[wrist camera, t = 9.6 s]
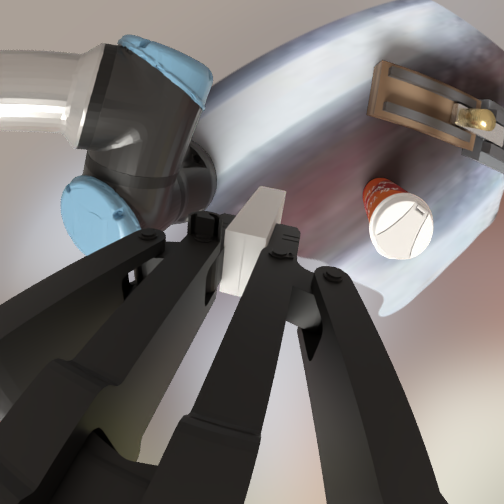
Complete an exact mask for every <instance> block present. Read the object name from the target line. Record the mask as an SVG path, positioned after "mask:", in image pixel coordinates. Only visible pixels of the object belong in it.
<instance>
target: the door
mask: <svg viewBox="0 0 504 504" xmlns="http://www.w3.org/2000/svg"><path fill="white" fill-rule="evenodd" d="M456 103H459V104H461V105H463V106H465V107H467V108H471V109H480V108H481V101H480V100H478V99H476V98H474V97H472V96H471V95H469V94H467V93H465V92H462V91H460V90H458V89H456V88H454V87H452V86H450V85H448V84H445V83H443V82H441V81H438V80H436V79H434V78H431V77H429V76H426V75H424V74H421V73H419V72H416V71H413V70H410V69H408V68H405V67H402V66H399V65H396V64H393V63H390V62H387V61H383V60H382V61H381V62H380V63H379V64H377V65H376V66H375V67H374V72H373V79H372V85H371V91H370V98H369V103H368V109H367V115H369V116H372V117H376V118H379V119H382V120H386V121H389V122H392V123H395V124H398V125H401V126H404V127H407V128H410V129H413V130H416V131H419V132H422V133H424V134H427V135H430V136H432V137H435V138H437V139H440V140H442V141H445V142H447V143H450V144H452V145H454V146H457V147H460V148H464V149H467V150H470V151H473V147H474V142H475V137H476V135H474V134H472V133H470V132H468V131H466V130H464V129H462V128H460V127H457V126H455V125H453V124H451V123H450V120H451V114H452V108H453V104H456Z"/></svg>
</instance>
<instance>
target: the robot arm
mask: <svg viewBox="0 0 504 504" xmlns="http://www.w3.org/2000/svg"><path fill="white" fill-rule="evenodd" d="M212 83H213V76H212V73H211V71H210V70H209V68H207V67H206V66H205V65H204V64H202V63H200V62H199V61H197V60H195V59H193V58H191V57H190V56H187V55H185V54H183V53H181V52H179V51H177V50H175V49H172V48H170V47H168V46H165V45H162V44H160V43H157V42H154V41H150V40H147V39H143V38H141V37H139V36H135V35H124V36H123V37H122V38H121V39H120V40H119V41H118V45H111V44H105V43H101V44H100V45H98V46H96V47H95V48H93V49H91V50H89V51H88V52H86V53H83V54H76V53H66V52H54V51H36V50H35V51H34V50H0V131H29V132H53V133H61V134H62V135H64V136H65V137H66V139H67V140H68V142H69V143H70V145H71V146H72V147H73V148H75V149H86V150H87V155H86V160H85V165H84V170H83V174H82V175H81V176H78V177H75V178H74V179H73V180H72V181H71V183H70V184H68V185H67V186H66V187H65V189H64V191H63V194H62V197H61V215H62V219H63V223H64V225H65V228H66V230H67V232H68V234H69V236H70V237H71V239H72V240H73V242H74V244H75V245H76V246H77V248H78V249H79V250H80V251H81V252H82V253H83V254H84V255H86V257H84V258H82V259H80V260H78V261H76V262H74V263H72V264H70V265H69V266H67V267H65V268H63V269H62V270H60V271H58V272H56V273H54V274H52V275H51V276H49V277H47V278H46V279H43V280H42V281H40V282H38V283H37V284H35V285H33V286H31V287H30V288H28V289H26V290H25V291H23V292H21V293H19V294H18V295H16V296H14V297H13V298H11V299H10V300H8V301H6V302H5V303H3V304H1V305H0V421H1V422H0V504H244V501H245V498H246V494H247V491H248V487H249V484H250V480H251V476H252V473H253V469H254V465H255V461H256V458H257V454H258V450H259V445H260V440H261V430H262V426H263V422H264V418H265V414H266V409H267V405H268V401H269V396H270V392H271V387H272V383H273V379H274V374H275V370H276V365H277V361H278V356H279V351H280V347H281V342H282V337H283V332H284V327H285V322H286V321H288V322H290V323H292V324H294V325H296V326H298V329H297V333H298V338H299V343H300V349H301V354H302V359H303V364H304V370H305V375H306V380H307V386H308V391H309V397H310V402H311V408H312V413H313V420H314V425H315V431H316V437H317V443H318V449H319V455H320V462H321V468H322V474H323V481H324V488H325V494H326V501H327V504H448V503H447V501H446V500H445V499H444V497H443V496H442V494H441V493H440V491H439V488H438V484H437V481H436V478H435V475H434V471H433V468H432V465H431V462H430V459H429V456H428V453H427V451H426V447H425V445H424V442H423V439H422V436H421V434H420V431H419V428H418V426H417V423H416V420H415V418H414V415H413V412H412V410H411V407H410V405H409V403H408V400H407V397H406V395H405V393H404V390H403V388H402V385H401V383H400V381H399V379H398V376H397V374H396V371H395V369H394V367H393V364H392V362H391V360H390V358H389V356H388V354H387V351H386V349H385V347H384V345H383V342H382V340H381V338H380V336H379V334H378V332H377V330H376V328H375V326H374V324H373V321H372V319H371V317H370V315H369V314H368V311H367V309H366V307H365V305H364V303H363V301H362V299H361V297H360V295H359V293H358V291H357V289H356V287H355V286H354V284H353V282H352V280H351V278H350V277H349V276H348V274H347V273H345V272H344V271H342V270H341V269H339V268H338V269H337V268H336V267H330V266H322V267H319V268H317V269H316V270H315V272H314V273H313V272H310V271H308V270H306V269H304V268H303V267H302V266H300V265H299V263H298V262H297V252H298V246H299V240H300V231H299V230H298V228H296V227H292V226H287V225H282V224H280V223H281V217H282V212H283V206H284V201H285V196H286V191H283V190H278V189H273V188H268V187H263V186H260V187H259V188H258V189H257V190H256V192H255V193H254V194H253V195H252V197H251V198H250V199H249V200H248V202H247V203H246V204H245V205H244V207H243V208H242V209H241V210H240V212H239V213H238V214H237V216H235V215H230V214H225V213H224V214H221V215H219V214H217V213H213V212H208V211H204V210H205V209H206V208H207V207H208V206H209V205H210V203H211V201H212V199H213V197H214V194H215V190H216V172H215V168H214V165H213V163H212V161H211V159H210V157H209V156H208V154H207V153H206V151H205V150H204V149H203V148H202V147H201V146H199V145H198V144H197V143H195V142H193V141H192V140H191V138H192V136H193V133H194V131H195V128H196V126H197V123H198V121H199V118H200V116H201V113H202V111H204V110H205V102H206V99H207V97H208V94H209V91H210V89H211V86H212ZM185 222H188V232H187V233H188V234H187V236H186V237H185V238H184V239H183V240H182V241H181V242H166V240H165V239H166V235H165V233H164V232H163V231H165V230H166V229H167V228H168V227H169V226H170V225H173V224H180V223H185ZM132 270H134V275H135V280H134V281H133V282H129V278H128V273H129V272H130V271H132ZM219 283H220V292H223V293H228V294H231V295H235V296H239V297H241V299H240V301H239V303H238V306H237V308H236V310H235V312H234V315H233V317H232V320H231V322H230V324H229V326H228V329H227V331H226V333H225V335H224V338H223V340H222V342H221V345H220V347H219V349H218V352H217V354H216V356H215V358H214V361H213V363H212V366H211V367H210V370H209V372H208V374H207V377H206V379H205V381H204V383H203V386H202V388H201V390H200V393H199V395H198V397H197V399H196V402H195V404H194V406H193V408H192V410H191V412H190V413H189V414H188V415H184V416H183V417H182V419H181V420H180V421H179V423H178V425H177V427H176V429H175V431H174V433H173V435H172V437H171V439H170V441H169V444H168V446H167V448H166V450H165V452H164V454H163V456H162V458H161V461H160V463H159V465H158V466H156V465H150V464H145V463H139V462H136V461H137V459H138V456H139V452H140V445H141V439H142V436H143V434H144V432H145V430H146V428H147V426H148V424H149V422H150V420H151V419H152V417H153V415H154V413H155V411H156V409H157V407H158V405H159V403H160V402H161V400H162V398H163V396H164V394H165V392H166V390H167V388H168V386H169V385H170V383H171V381H172V379H173V377H174V375H175V373H176V371H177V369H178V368H179V366H180V364H181V362H182V360H183V358H184V356H185V354H186V353H187V351H188V349H189V347H190V345H191V343H192V341H193V339H194V338H195V335H196V334H197V332H198V330H199V328H200V326H201V324H202V323H203V321H204V319H205V317H206V315H207V313H208V312H209V310H210V308H211V306H212V304H213V302H214V300H215V298H216V291H217V286H218V284H219Z"/></svg>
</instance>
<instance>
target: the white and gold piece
mask: <svg viewBox="0 0 504 504" xmlns="http://www.w3.org/2000/svg"><path fill="white" fill-rule="evenodd" d="M450 123H451V124H453V125H455V126H457V127H460V128H462V129H464V130H466V131H468V132H470V133H472V134H474V135H476V136H478V137H480V138H482V139H484V140H486V141H488V142H490V143H492V144H494V145H496V146H499V147H502V146H503V141H504V127H502V126H501V125H499V124H497V123H496V119H495V116H494V114H493V113H492V112H491V111H490V110H488V109H471V108H467V107H465V106H463V105H461V104H459V103H456V104H453V108H452V114H451V120H450Z"/></svg>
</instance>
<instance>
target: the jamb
mask: <svg viewBox="0 0 504 504" xmlns="http://www.w3.org/2000/svg"><path fill="white" fill-rule="evenodd" d="M478 100H480V101H481V108H480V109H488V110H490V111H491V112H492V113H493V114H494V116H495V119H496V123H497V124H499V125H501V126H502V127H504V108H503V107H502V106H500V105H498V104H497V103H495V102H493V101H492V100H490V99H478ZM461 155H463V156H465V157H468V158H470V159H472V160H474V161H476V162H479V163H481V164H483V165H485V166H487V167H489V168H492V169H494V170H496V171H498V172H501V173H503V174H504V141H503V146H502V147H499V146H496V145H494V144H492V143H490V142H488V141H486V140H484V139H482V138H480V137H478V136H476V137H475V142H474V147H473V151H470V150H467V149H464V148H463V150H462V154H461Z"/></svg>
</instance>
